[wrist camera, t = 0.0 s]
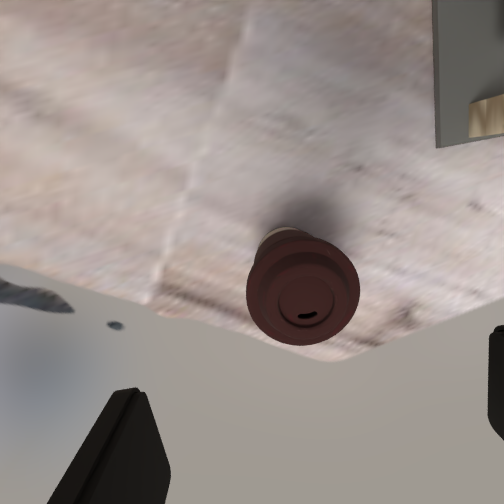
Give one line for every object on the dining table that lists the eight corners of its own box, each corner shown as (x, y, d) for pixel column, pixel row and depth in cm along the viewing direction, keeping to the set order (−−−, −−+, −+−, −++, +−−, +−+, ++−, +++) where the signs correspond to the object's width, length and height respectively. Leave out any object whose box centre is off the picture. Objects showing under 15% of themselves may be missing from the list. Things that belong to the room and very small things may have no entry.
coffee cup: (265, 203, 38) (277, 224, 24) (337, 234, 39) (390, 273, 25) (234, 273, 40) (227, 332, 26) (303, 301, 42) (333, 372, 27)
